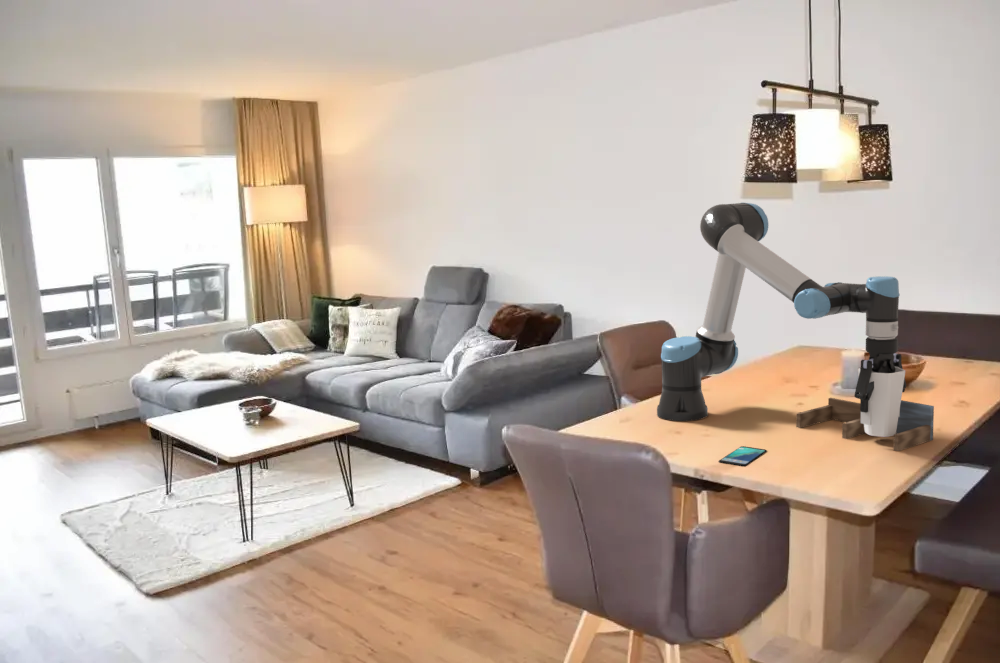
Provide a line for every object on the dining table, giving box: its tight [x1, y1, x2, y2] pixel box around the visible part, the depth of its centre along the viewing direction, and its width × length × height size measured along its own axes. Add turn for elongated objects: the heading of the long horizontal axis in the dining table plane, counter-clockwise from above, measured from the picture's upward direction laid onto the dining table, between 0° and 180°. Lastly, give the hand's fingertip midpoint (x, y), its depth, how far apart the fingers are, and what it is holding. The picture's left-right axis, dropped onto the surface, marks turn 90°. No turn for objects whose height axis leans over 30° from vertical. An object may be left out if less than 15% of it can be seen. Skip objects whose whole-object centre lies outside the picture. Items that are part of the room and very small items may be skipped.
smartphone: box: [718, 445, 768, 468], centre depth 208 cm, size 7×1×15 cm
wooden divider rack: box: [795, 397, 935, 452], centre depth 222 cm, size 15×31×9 cm, turn 32°
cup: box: [857, 366, 906, 438], centre depth 213 cm, size 11×10×17 cm
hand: (880, 420), depth 214 cm, fingers closed on cup, 11 cm apart
